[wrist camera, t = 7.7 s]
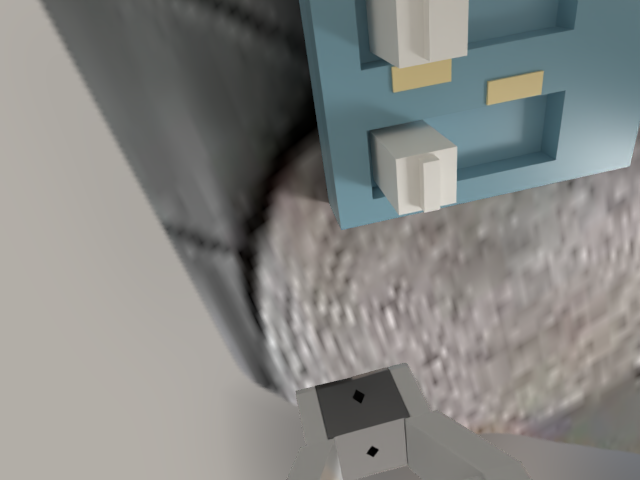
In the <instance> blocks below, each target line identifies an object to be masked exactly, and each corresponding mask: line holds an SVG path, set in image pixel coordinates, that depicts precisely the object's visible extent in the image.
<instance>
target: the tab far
mask: <svg viewBox="0 0 640 480" xmlns="http://www.w3.org/2000/svg"><path fill="white" fill-rule="evenodd" d="M369 132H370V143H371V155H372V166H373V177H374V181H375V182H376V184H377V185H378V187H379V188H380V189H381V191H382V192H383V194H384V195H385V196H386V198H387V199H388V201H389V202H390V203H391V205H392V206H393V208H394V209H395V210H396V212H397V213H398V215H403V214H408V213H412V212H417V211H421V210H423V211H424V213H426V212H430V211H435V210H439V209H440V206H444V205H448V204H453V203H456V191H457V146H456V145H455V144H453V143H452V142H451V141H449V140H448V139H447V138H446V137H444V136H443V135H442V134H440V133H439V132H438V131H436V130H435V129H434V128H432V127H431V126H430V125H429V124H427V123H426V122H425V121H423V120H417V121H412V122H407V123H403V124H398V125H393V126H388V127H383V128H378V129H373V130H369Z"/></svg>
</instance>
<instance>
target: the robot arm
mask: <svg viewBox="0 0 640 480" xmlns="http://www.w3.org/2000/svg"><path fill="white" fill-rule="evenodd" d="M296 399H297V404H298V409H299V414H300V419H301V424H302V429H303V434H304V438H305V444H306V446H303V447H300V449H299V452H298V454H297V456H296V459H295V461H294V464H293V466H292V468H291V471H290V473H289V475H288V478H287V480H357V479H360V478H364V477H366V476H370V475H373V474H375V473H376V474H377V473H380V472H384V471H388V470H392V469H396V468H400V467H404V466H408V467H409V468H410V469H411V470H412V471H413V472H414V473H415V474H417V475H418V476H419V477H420V478H421V479H423V480H532V479H531V477H530V475H529V474H528V472H527V471H526V469H525V467H524V466H523V464H522V463H521V462H520V461H519V460H517V459H515V458H514V457H512V456H511V455H509V454H507V453H506V452H504V451H503V450H501V449H499V448H498V447H496V446H494V445H493V444H491V443H490V442H488V441H486V440H485V439H483V438H482V437H480V436H478V435H477V434H475V433H474V432H472V431H470V430H469V429H467V428H466V427H464V426H462V425H461V424H459V423H457V422H456V421H454V420H453V419H451V418H449V417H448V416H446V415H445V414H443V413H441V412H440V411H438V410H435V411H431V409H430V407H429V405H428V403H427V401H426V399H425V397H424V395H423V393H422V391H421V389H420V387H419V385H418V383H417V381H416V379H415V377H414V375H413V373H412V371H411V370H410V368H409V366H408V364H406V363H402V364H398V365H394V366H391V367H387V368H382V369H379V370H375V371H371V372H368V373H364V374H360V375H357V376H353V377H351V378H347V379H343V380H339V381H334V382H330V383H326V384H322V385H317V386H315V387H310V388H306V389H302V390H297V391H296Z"/></svg>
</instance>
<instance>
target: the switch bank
mask: <svg viewBox="0 0 640 480" xmlns="http://www.w3.org/2000/svg"><path fill="white" fill-rule="evenodd" d="M299 4H300V11H301V18H302V24H303V31H304V38H305V44H306V51H307V58H308V65H309V71H310V78H311V85H312V91H313V98H314V105H315V112H316V118H317V125H318V132H319V139H320V145H321V152H322V159H323V165H324V172H325V179H326V186H327V192H328V199H329V204H330V206H331V209H332V211H333V213H334V215H335V217H336V219H337V222H338V224H339V226H340V228H341V230H344V229H348V228H353V227H357V226H362V225H366V224H371V223H375V222H380V221H384V220H389V219H394V218H398V217H403V216H407V215H412V214H416V213H421V212H424V211H423V210H421V211H417V212H412V213H408V214H403V215H398V213H397V212H396V210H395V209H394V208H393V206H392V205H391V203H390V202H389V201H388V199H387V198H386V196H385V195H384V194H383V192H382V191H381V189H380V188H379V187H378V185H377V184H376V182H375V181H374V177H373V166H372V155H371V143H370V132H369V130H373V129H378V128H383V127H388V126H393V125H398V124H403V123H407V122H412V121H417V120H423V121H425V122H426V123H427V124H429V125H430V126H431V127H432V128H434V129H435V130H436V131H438V132H439V133H440V134H442V135H443V136H444V137H446V138H447V139H448V140H449V141H451V142H452V143H453V144H455V145H456V146H457V191H456V203H453V204H448V205H444V206H440V208H443V207H448V206H452V205H457V204H461V203H466V202H471V201H475V200H480V199H484V198H489V197H493V196H498V195H502V194H507V193H511V192H516V191H520V190H525V189H529V188H534V187H538V186H543V185H548V184H552V183H557V182H561V181H566V180H570V179H575V178H579V177H584V176H588V175H593V174H597V173H602V172H606V171H611V170H616V169H620V168H625V167H629V166H630V163H631V159H632V155H633V150H634V146H635V142H636V137H637V133H638V129H639V124H640V0H469V9H468V47H467V56H462V57H457V58H452V59H447V60H441V61H436V62H431V63H426V64H421V65H415V66H410V67H405V68H400V69H399V68H397V67H396V66H394V65H392V64H390V63H389V62H387V61H385V60H384V59H382V58H380V57H378V56H377V55H375V54H373V53H371V52H370V47H369V34H368V22H367V9H366V0H299Z"/></svg>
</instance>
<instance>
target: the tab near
mask: <svg viewBox="0 0 640 480" xmlns="http://www.w3.org/2000/svg"><path fill="white" fill-rule="evenodd" d="M366 9H367V22H368V34H369V47H370V52H371V53H373V54H375V55H377V56H378V57H380V58H382V59H384V60H385V61H387V62H389V63H390V64H392V65H394V66H396V67H397V68H399V69H400V68H405V67H410V66H415V65H421V64H426V63H431V62H436V61H441V60H447V59H452V58H457V57H462V56H467V47H468V9H469V0H366Z"/></svg>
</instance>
